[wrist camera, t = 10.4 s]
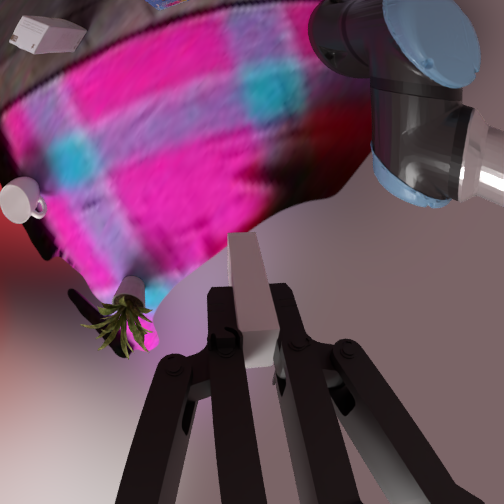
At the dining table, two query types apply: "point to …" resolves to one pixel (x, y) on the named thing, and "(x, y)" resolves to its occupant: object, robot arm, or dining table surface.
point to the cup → (21, 200)
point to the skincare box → (47, 35)
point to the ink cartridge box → (164, 3)
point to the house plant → (125, 313)
